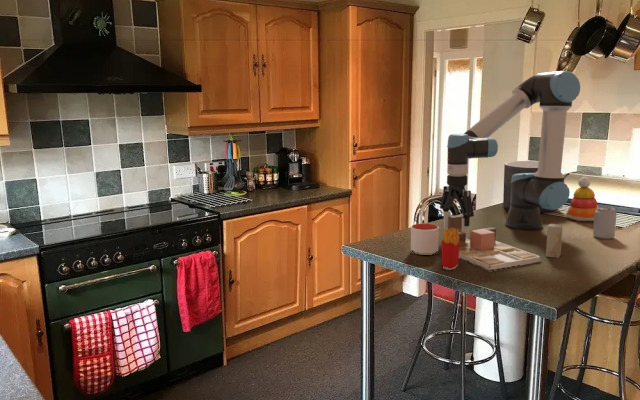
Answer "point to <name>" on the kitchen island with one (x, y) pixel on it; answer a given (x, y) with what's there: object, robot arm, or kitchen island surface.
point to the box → (554, 240)
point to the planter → (517, 168)
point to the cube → (482, 239)
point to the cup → (424, 238)
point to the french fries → (450, 248)
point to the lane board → (503, 258)
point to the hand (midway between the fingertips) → (455, 230)
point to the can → (604, 223)
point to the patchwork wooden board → (497, 245)
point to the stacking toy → (583, 202)
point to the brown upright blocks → (457, 224)
